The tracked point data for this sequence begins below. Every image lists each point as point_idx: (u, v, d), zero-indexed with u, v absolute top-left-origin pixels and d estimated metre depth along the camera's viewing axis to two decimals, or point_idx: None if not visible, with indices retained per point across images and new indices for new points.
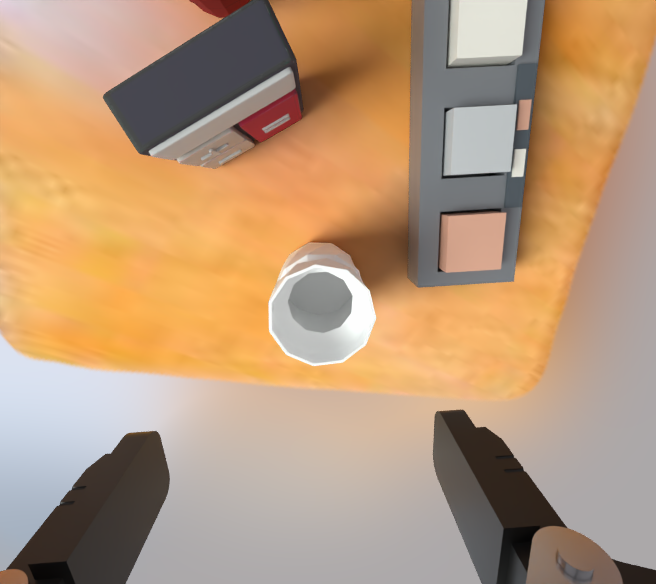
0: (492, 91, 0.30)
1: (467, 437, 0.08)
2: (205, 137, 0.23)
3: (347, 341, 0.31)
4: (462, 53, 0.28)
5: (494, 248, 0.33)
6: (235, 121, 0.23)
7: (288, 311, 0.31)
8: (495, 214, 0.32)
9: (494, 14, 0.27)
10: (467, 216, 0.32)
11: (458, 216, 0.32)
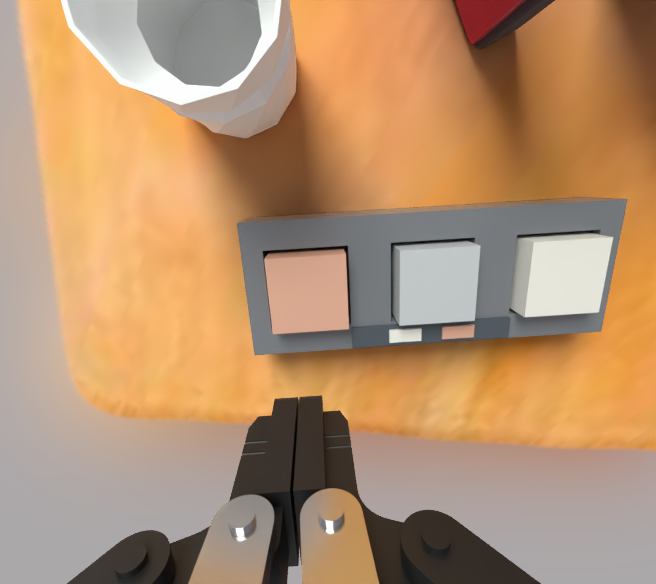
0: (485, 293, 0.26)
1: (310, 418, 0.09)
2: None
3: (124, 68, 0.16)
4: (537, 248, 0.23)
5: (301, 321, 0.24)
6: None
7: None
8: (346, 315, 0.24)
9: (570, 280, 0.24)
10: (344, 279, 0.23)
11: (345, 267, 0.23)
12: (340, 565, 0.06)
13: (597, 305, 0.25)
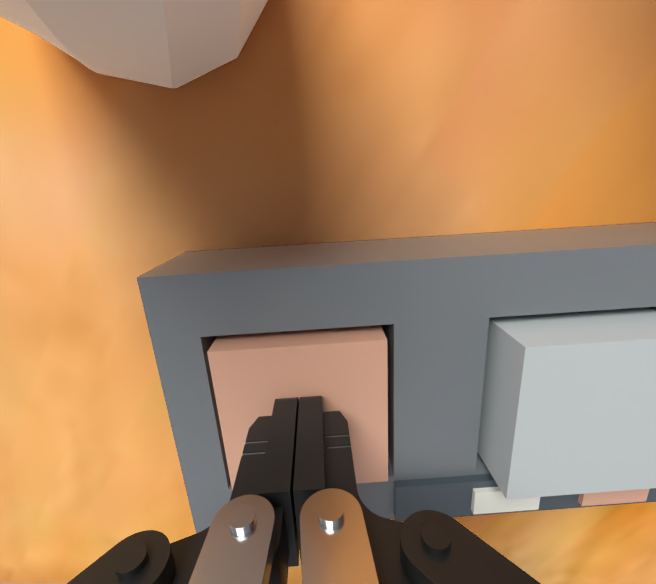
0: None
1: (309, 418, 0.09)
2: None
3: None
4: None
5: None
6: None
7: None
8: (384, 457, 0.12)
9: None
10: (383, 390, 0.11)
11: (384, 367, 0.11)
12: (340, 565, 0.06)
13: None
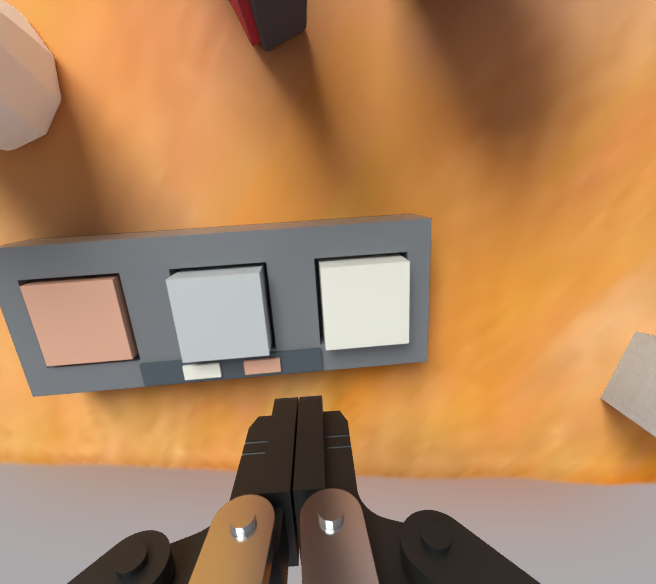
0: (289, 322, 0.23)
1: (310, 418, 0.09)
2: None
3: None
4: (326, 275, 0.21)
5: (76, 352, 0.22)
6: None
7: None
8: (127, 345, 0.22)
9: (369, 309, 0.21)
10: (116, 306, 0.21)
11: (114, 293, 0.21)
12: (340, 565, 0.06)
13: (406, 335, 0.22)
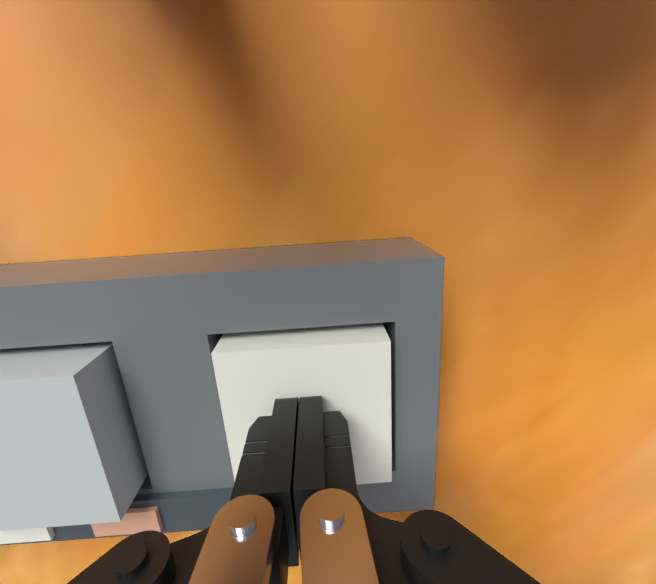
0: (172, 447, 0.12)
1: (309, 418, 0.09)
2: None
3: None
4: (224, 366, 0.10)
5: None
6: None
7: None
8: None
9: None
10: None
11: None
12: (340, 565, 0.06)
13: (386, 469, 0.12)
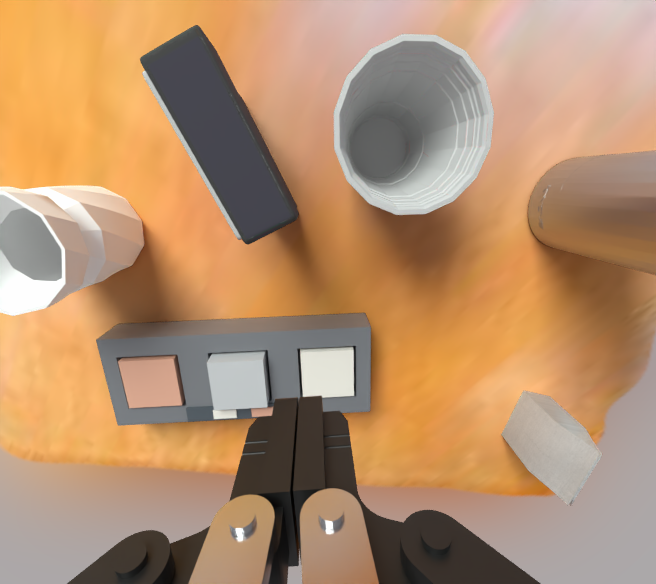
0: (281, 385, 0.36)
1: (309, 418, 0.09)
2: None
3: None
4: (303, 356, 0.35)
5: (148, 400, 0.36)
6: None
7: (18, 206, 0.25)
8: (179, 396, 0.36)
9: (329, 375, 0.36)
10: (174, 374, 0.35)
11: (174, 367, 0.35)
12: (340, 565, 0.06)
13: (352, 391, 0.36)
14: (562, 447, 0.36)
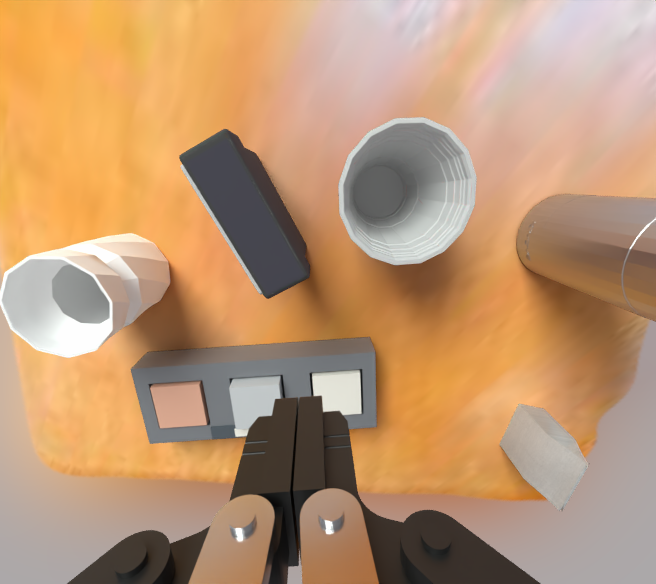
0: None
1: (310, 418, 0.09)
2: None
3: (45, 323, 0.30)
4: (315, 379, 0.39)
5: (176, 421, 0.40)
6: None
7: (69, 262, 0.30)
8: (204, 417, 0.40)
9: (339, 396, 0.40)
10: (200, 398, 0.39)
11: (199, 391, 0.39)
12: (340, 565, 0.06)
13: (359, 409, 0.40)
14: (553, 457, 0.40)
